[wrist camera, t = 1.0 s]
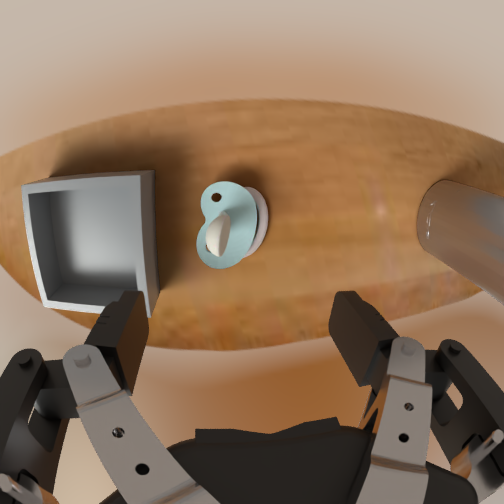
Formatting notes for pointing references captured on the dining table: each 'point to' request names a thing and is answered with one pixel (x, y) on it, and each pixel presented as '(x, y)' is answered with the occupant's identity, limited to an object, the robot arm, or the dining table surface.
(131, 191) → the bin
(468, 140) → the dining table surface
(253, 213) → the pacifier
